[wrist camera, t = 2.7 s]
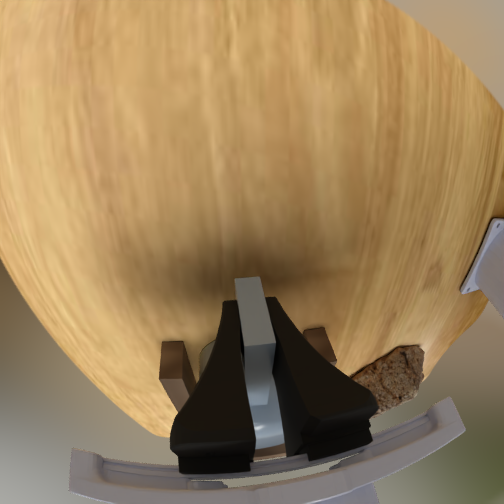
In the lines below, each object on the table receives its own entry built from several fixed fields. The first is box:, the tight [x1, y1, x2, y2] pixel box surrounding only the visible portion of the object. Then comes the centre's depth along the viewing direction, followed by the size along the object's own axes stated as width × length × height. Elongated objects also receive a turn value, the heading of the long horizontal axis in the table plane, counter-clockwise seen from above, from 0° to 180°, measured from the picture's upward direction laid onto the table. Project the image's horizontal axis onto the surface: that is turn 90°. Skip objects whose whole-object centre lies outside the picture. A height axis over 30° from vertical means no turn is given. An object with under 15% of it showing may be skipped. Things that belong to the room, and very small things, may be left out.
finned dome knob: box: [199, 277, 285, 449], centre depth 15 cm, size 7×13×6 cm, turn 179°
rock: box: [352, 346, 425, 419], centre depth 25 cm, size 15×10×6 cm
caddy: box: [159, 328, 337, 461], centre depth 18 cm, size 12×9×7 cm
